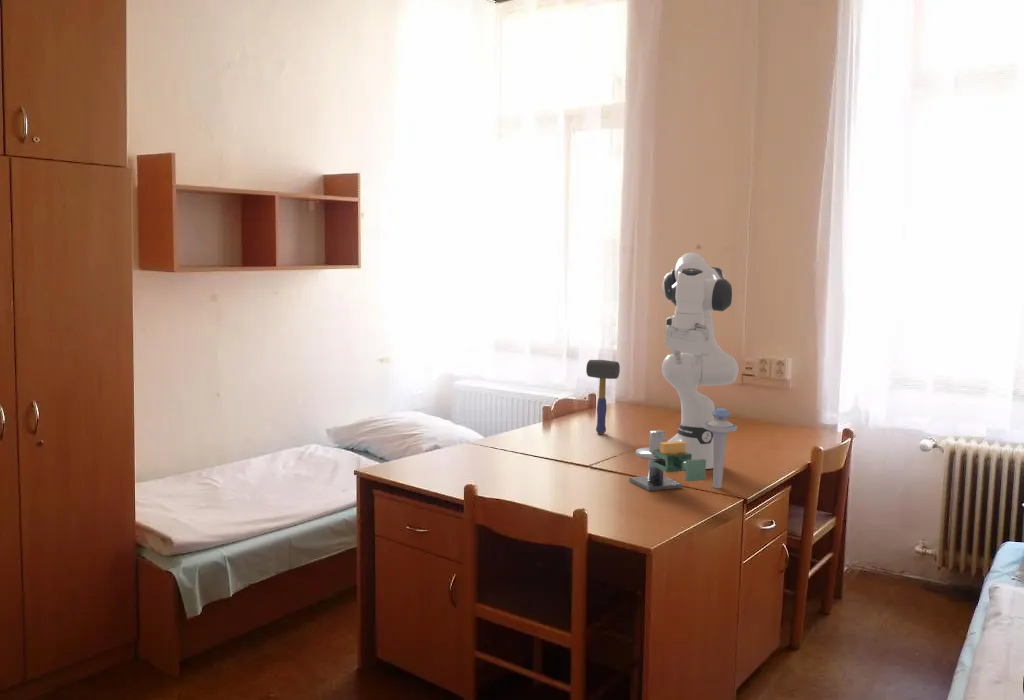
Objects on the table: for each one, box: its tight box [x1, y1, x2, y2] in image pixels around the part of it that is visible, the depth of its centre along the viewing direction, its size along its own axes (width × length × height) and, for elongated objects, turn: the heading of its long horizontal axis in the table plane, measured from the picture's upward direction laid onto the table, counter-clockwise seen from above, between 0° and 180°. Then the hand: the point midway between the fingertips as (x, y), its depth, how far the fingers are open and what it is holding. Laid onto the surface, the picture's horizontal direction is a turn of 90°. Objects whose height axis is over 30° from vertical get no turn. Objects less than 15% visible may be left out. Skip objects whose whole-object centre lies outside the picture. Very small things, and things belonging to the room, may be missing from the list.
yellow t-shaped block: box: [660, 441, 686, 475], centre depth 264 cm, size 2×8×10 cm, turn 112°
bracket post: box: [628, 429, 707, 492], centre depth 266 cm, size 29×13×17 cm, turn 22°
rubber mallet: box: [585, 359, 621, 435], centre depth 346 cm, size 12×8×30 cm, turn 67°
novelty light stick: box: [704, 407, 738, 489], centre depth 271 cm, size 10×10×25 cm
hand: (686, 367), depth 266 cm, fingers open, 8 cm apart
